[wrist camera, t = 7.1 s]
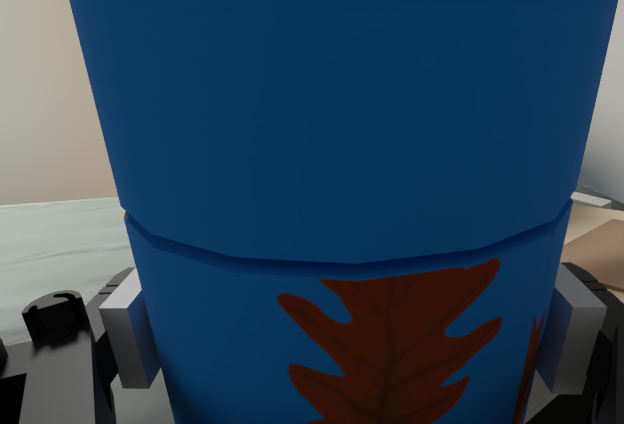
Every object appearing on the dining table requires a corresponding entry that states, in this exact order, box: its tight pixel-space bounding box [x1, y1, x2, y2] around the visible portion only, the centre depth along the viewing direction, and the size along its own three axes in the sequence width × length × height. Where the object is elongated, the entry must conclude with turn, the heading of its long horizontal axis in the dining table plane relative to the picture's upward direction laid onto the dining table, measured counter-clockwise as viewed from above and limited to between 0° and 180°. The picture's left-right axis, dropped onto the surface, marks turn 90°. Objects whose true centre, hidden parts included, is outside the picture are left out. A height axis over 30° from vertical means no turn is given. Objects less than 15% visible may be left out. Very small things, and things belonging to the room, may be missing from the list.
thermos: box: [70, 0, 618, 424], centre depth 12 cm, size 11×11×25 cm
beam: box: [560, 204, 624, 303], centre depth 25 cm, size 28×14×5 cm, turn 32°
